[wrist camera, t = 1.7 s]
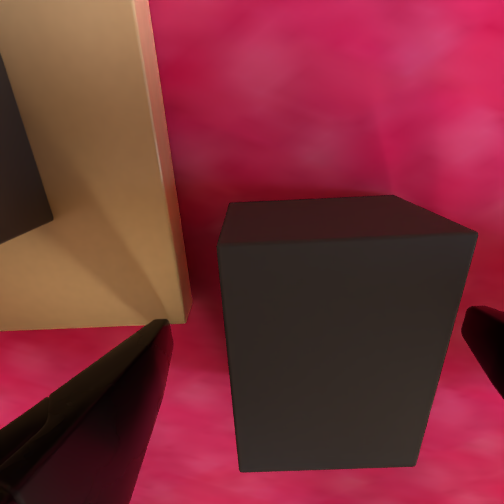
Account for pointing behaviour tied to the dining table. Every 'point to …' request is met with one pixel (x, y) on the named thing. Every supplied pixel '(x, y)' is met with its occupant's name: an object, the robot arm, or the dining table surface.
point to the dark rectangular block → (337, 327)
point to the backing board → (85, 170)
